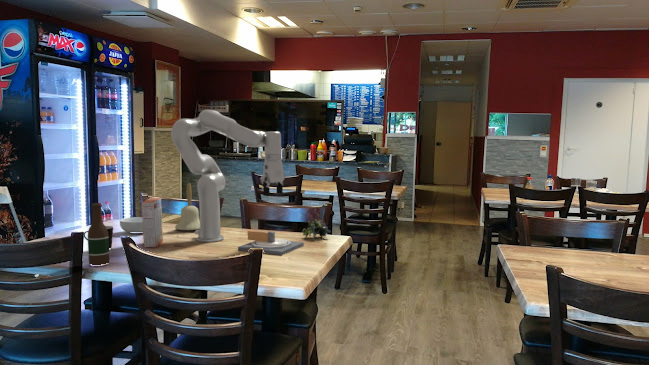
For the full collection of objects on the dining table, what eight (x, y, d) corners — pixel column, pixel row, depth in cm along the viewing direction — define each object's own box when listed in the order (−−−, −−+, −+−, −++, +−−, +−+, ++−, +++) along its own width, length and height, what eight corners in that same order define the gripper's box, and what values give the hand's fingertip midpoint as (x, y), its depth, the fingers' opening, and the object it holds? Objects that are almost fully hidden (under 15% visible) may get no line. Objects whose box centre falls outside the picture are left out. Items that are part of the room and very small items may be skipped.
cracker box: (150, 241, 236) (148, 197, 234) (163, 241, 237) (162, 197, 235) (142, 248, 222) (140, 201, 220) (156, 247, 223) (154, 201, 221)
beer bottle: (92, 262, 198) (90, 202, 195) (112, 261, 198) (110, 202, 196) (85, 267, 190) (82, 205, 188) (106, 266, 191) (103, 204, 188)
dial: (239, 244, 221) (239, 232, 221) (257, 238, 234) (257, 227, 233) (276, 248, 213) (276, 236, 213) (292, 242, 226) (292, 230, 225)
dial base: (238, 250, 218) (237, 244, 218) (262, 241, 236) (262, 236, 236) (281, 255, 209) (281, 249, 209) (303, 245, 227) (303, 240, 227)
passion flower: (320, 247, 247) (335, 229, 245) (312, 248, 237) (327, 228, 235) (304, 233, 251) (318, 214, 249) (295, 233, 241) (310, 213, 239)
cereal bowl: (147, 236, 249) (147, 222, 248) (114, 236, 249) (114, 222, 249) (159, 229, 266) (158, 216, 265) (128, 229, 266) (127, 216, 265)
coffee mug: (118, 248, 221) (117, 226, 220) (104, 253, 213) (103, 230, 212) (97, 246, 225) (96, 225, 224) (82, 251, 217) (81, 228, 216)
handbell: (168, 231, 261) (167, 183, 259) (189, 226, 275) (188, 181, 272) (191, 233, 254) (189, 185, 252) (211, 228, 268) (209, 182, 265)
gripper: (267, 159, 222) (267, 197, 224) (290, 157, 237) (290, 193, 238) (254, 158, 226) (254, 195, 228) (278, 157, 241) (278, 192, 242)
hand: (273, 194), depth 233 cm, fingers open, 9 cm apart
